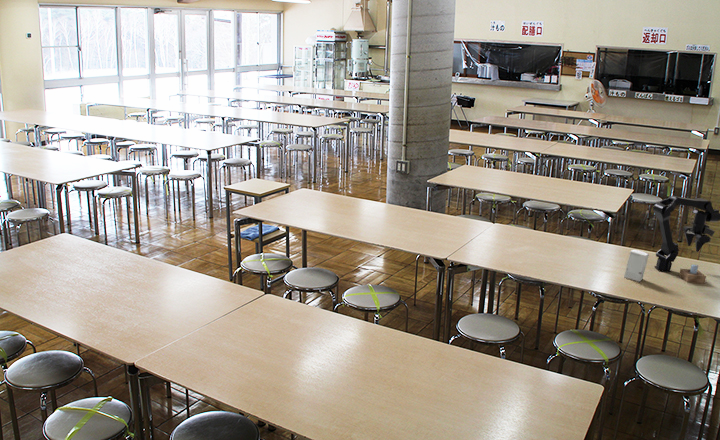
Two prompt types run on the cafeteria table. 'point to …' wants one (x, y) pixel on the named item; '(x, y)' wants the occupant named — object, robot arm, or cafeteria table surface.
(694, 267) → the peg
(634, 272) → the skincare box
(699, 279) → the socket block
